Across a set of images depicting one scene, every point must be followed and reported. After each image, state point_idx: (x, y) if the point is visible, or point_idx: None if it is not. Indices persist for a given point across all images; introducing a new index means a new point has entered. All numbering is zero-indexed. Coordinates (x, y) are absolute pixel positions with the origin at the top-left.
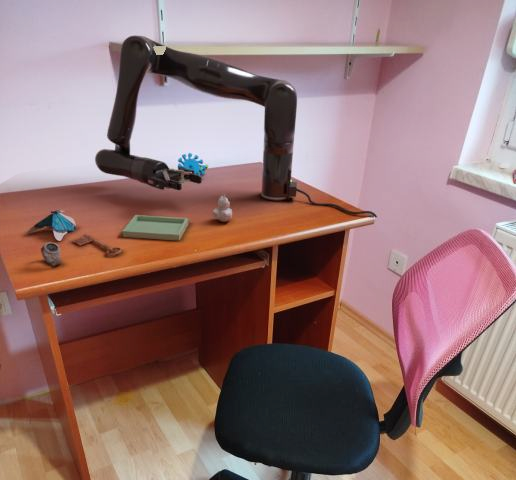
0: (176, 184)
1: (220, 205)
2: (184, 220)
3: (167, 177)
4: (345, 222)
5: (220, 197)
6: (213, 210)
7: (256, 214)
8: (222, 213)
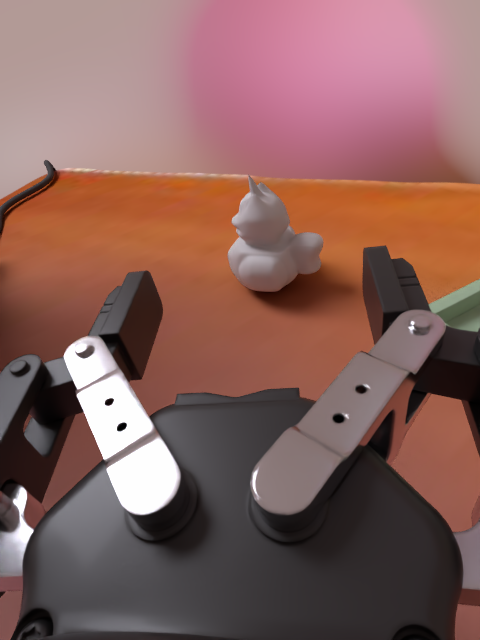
0: (405, 261)
1: (287, 214)
2: (447, 306)
3: (382, 359)
4: (105, 171)
5: (262, 200)
6: (316, 238)
7: (146, 265)
8: (294, 233)
